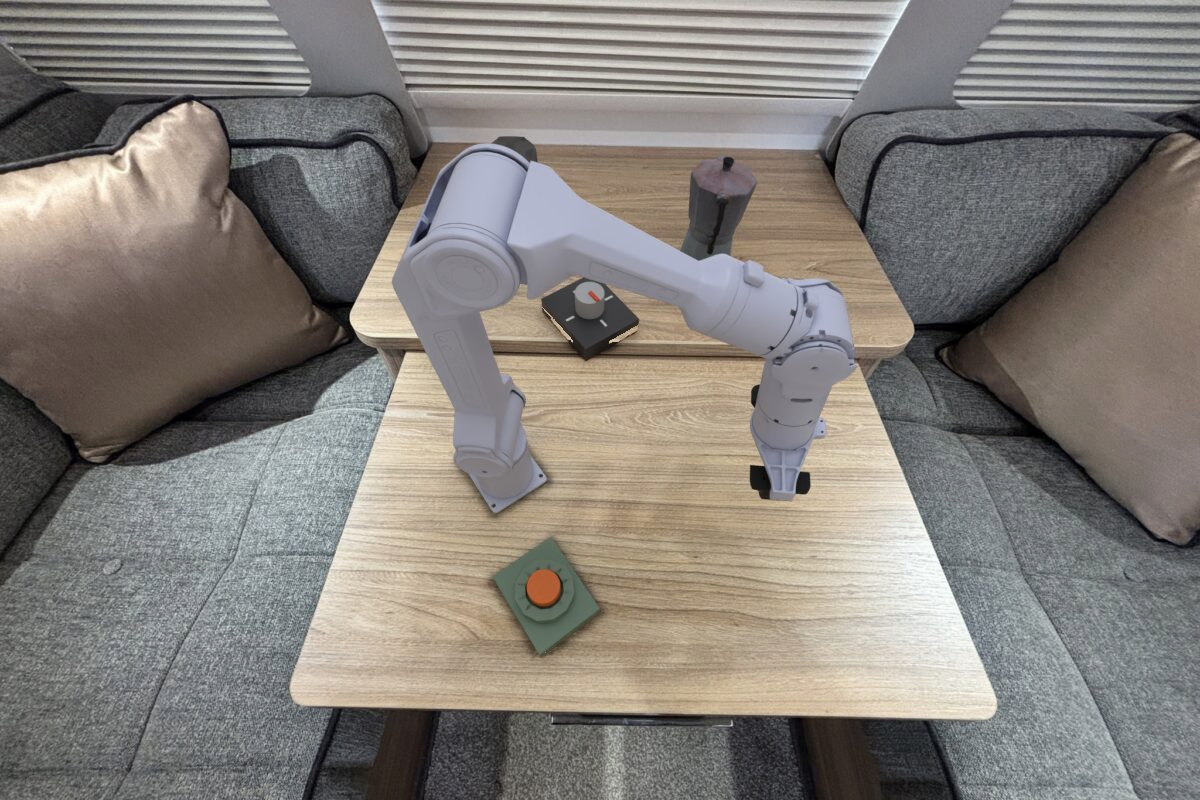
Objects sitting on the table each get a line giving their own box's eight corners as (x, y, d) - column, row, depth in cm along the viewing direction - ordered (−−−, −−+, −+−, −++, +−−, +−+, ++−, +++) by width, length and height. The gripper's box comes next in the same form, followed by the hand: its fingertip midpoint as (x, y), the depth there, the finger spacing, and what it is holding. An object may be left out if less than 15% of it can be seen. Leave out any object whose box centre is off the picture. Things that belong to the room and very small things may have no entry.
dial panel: (542, 311, 85) (540, 298, 82) (593, 285, 88) (593, 271, 85) (585, 361, 80) (585, 348, 77) (638, 331, 83) (639, 318, 80)
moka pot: (729, 242, 94) (760, 134, 77) (732, 308, 86) (767, 203, 69) (675, 238, 94) (694, 129, 77) (673, 303, 86) (693, 197, 69)
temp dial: (569, 305, 81) (568, 288, 78) (593, 293, 83) (593, 275, 79) (586, 324, 79) (585, 306, 76) (609, 311, 81) (610, 293, 78)
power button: (522, 585, 59) (520, 582, 57) (549, 566, 60) (548, 562, 58) (539, 613, 57) (538, 610, 56) (567, 593, 58) (566, 590, 57)
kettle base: (495, 581, 62) (489, 572, 59) (552, 542, 65) (550, 531, 62) (540, 657, 58) (537, 653, 55) (600, 612, 61) (600, 605, 57)
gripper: (843, 476, 44) (810, 531, 55) (832, 338, 51) (805, 412, 62) (754, 469, 45) (740, 524, 56) (756, 335, 52) (743, 408, 64)
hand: (770, 464), depth 59 cm, fingers open, 7 cm apart
